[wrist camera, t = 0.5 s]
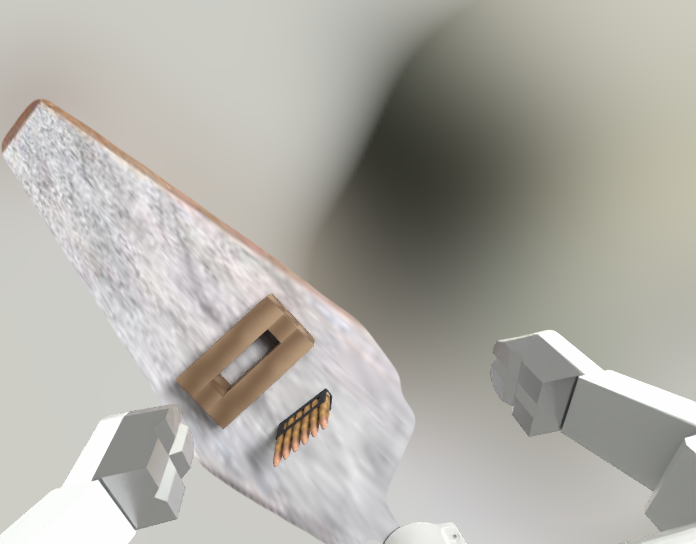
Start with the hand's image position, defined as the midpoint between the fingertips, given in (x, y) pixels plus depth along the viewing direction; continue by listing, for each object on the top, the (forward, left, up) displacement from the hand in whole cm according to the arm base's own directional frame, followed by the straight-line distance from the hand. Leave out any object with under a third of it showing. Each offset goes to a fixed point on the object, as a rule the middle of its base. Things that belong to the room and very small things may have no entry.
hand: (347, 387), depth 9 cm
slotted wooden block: (0, +20, -51) cm, 55 cm away
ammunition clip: (-14, +20, -51) cm, 57 cm away
